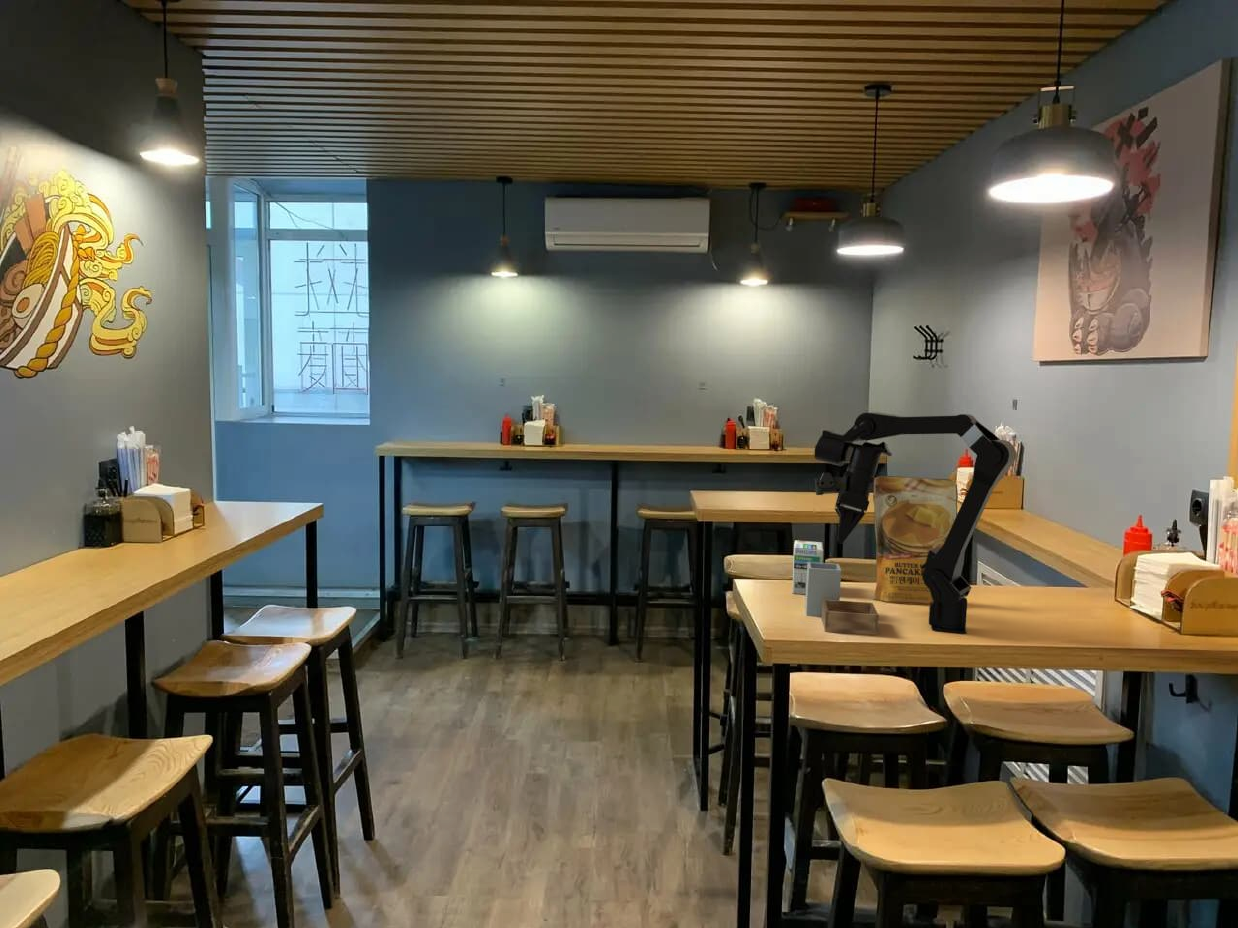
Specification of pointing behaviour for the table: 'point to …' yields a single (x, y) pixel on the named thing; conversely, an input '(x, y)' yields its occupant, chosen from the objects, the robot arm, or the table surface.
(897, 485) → the pancake mix bag
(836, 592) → the grey crate
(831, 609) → the walnut crate
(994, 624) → the table surface
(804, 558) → the light bulb box
